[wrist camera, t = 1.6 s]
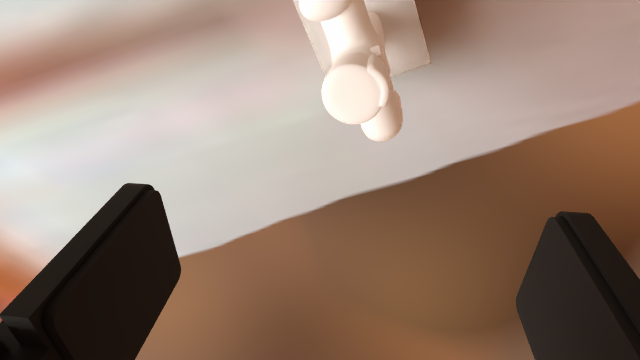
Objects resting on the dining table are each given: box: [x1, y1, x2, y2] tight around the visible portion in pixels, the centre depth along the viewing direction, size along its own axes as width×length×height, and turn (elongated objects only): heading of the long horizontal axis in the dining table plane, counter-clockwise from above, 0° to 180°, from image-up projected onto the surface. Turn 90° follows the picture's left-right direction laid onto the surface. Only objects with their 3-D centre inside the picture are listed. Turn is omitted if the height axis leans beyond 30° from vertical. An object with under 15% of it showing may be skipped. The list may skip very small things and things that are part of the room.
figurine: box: [293, 0, 431, 141], centre depth 23 cm, size 7×9×15 cm
